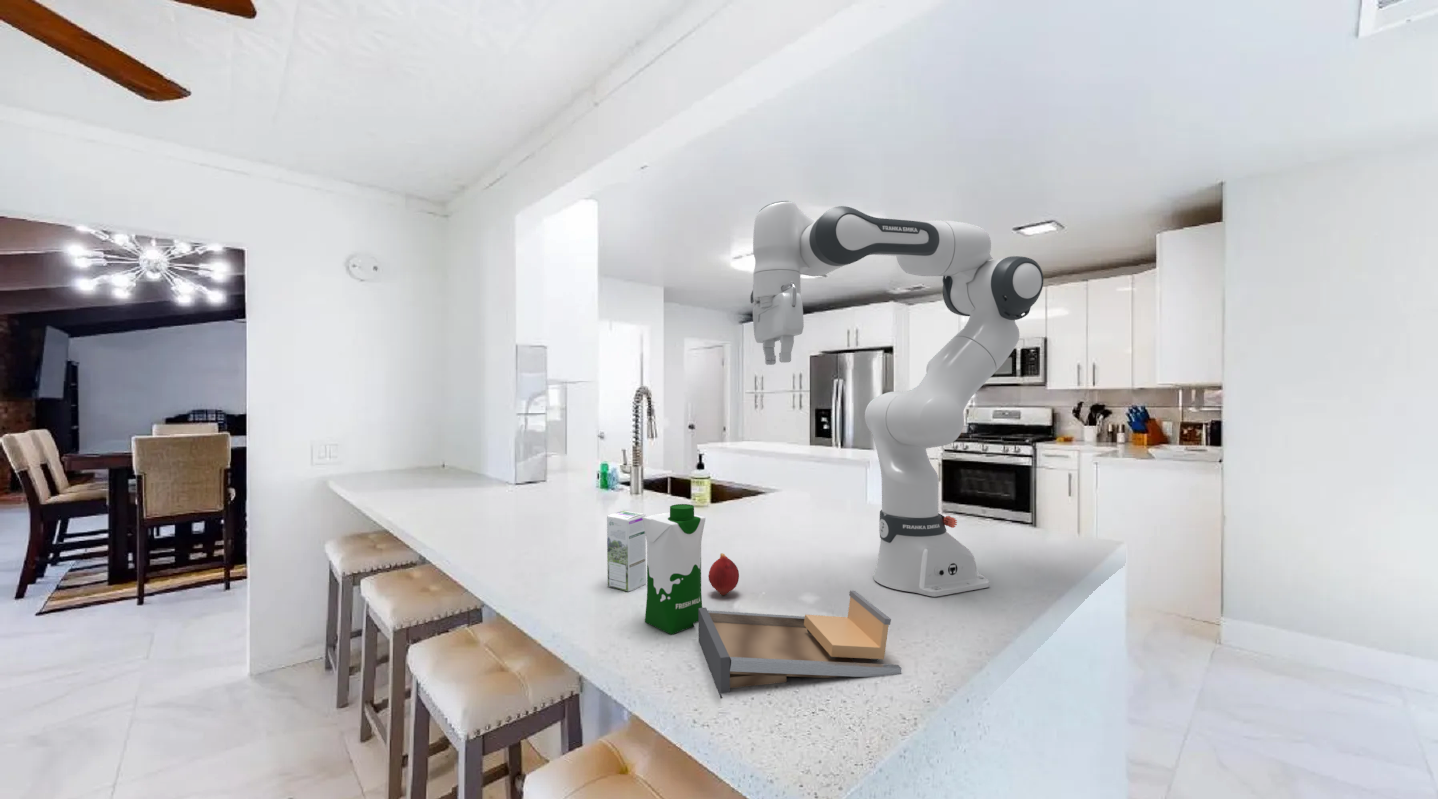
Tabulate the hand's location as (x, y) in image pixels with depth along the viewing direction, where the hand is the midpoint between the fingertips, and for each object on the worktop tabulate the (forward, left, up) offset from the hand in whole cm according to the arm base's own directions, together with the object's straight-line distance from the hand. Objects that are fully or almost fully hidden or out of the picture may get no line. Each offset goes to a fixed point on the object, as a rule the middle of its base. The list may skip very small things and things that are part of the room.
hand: (777, 363), depth 108 cm
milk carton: (+21, +8, -45) cm, 50 cm away
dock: (+5, +24, -44) cm, 51 cm away
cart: (-2, +24, -44) cm, 50 cm away
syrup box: (+28, -12, -45) cm, 54 cm away
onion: (+10, -3, -45) cm, 46 cm away
